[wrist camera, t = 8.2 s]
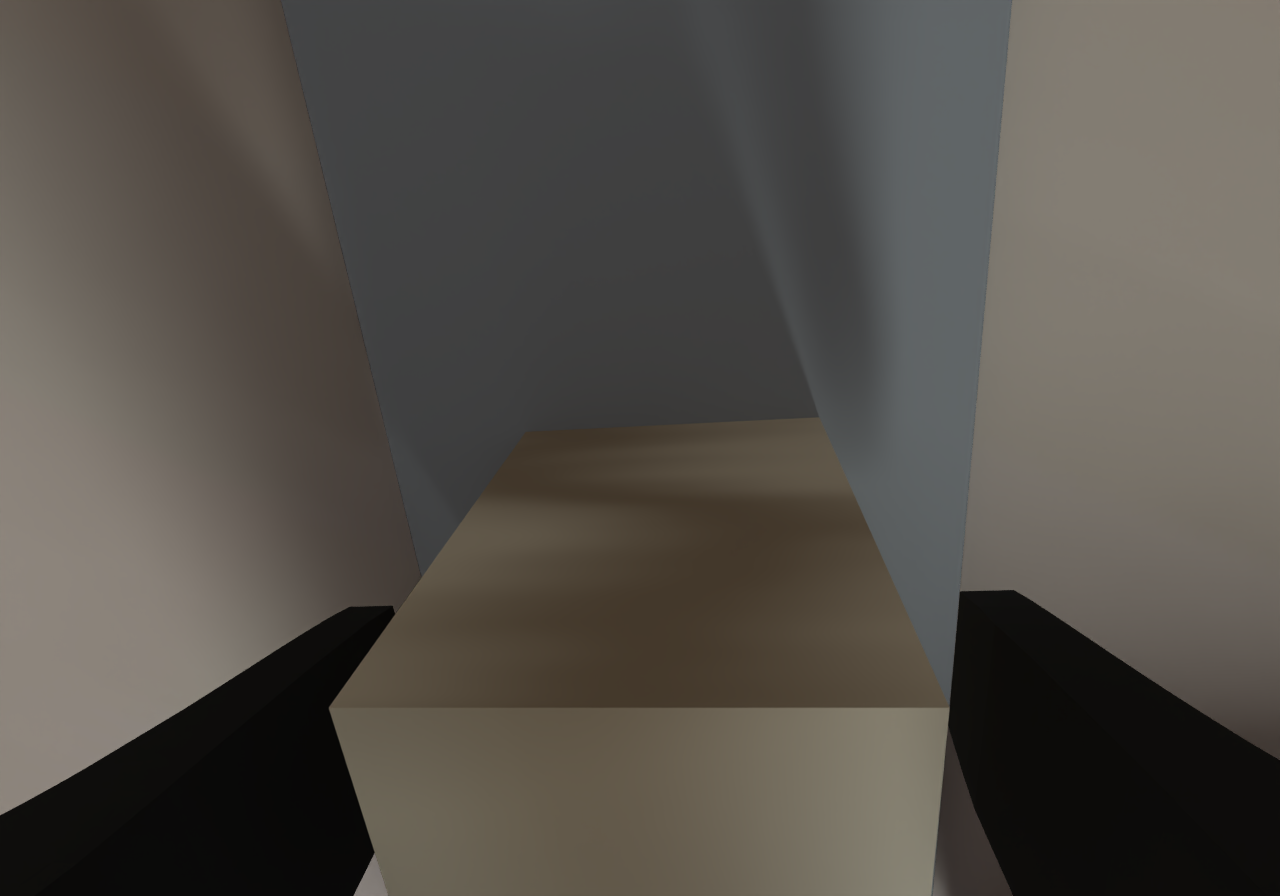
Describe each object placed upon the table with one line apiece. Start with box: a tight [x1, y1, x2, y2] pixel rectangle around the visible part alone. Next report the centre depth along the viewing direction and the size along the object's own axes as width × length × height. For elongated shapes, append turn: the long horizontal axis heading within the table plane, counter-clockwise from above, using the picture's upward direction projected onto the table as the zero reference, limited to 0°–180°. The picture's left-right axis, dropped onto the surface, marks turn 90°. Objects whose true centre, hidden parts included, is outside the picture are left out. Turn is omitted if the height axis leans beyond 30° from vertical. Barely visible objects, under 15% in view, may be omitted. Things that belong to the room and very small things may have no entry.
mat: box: [281, 0, 1012, 896], centre depth 12 cm, size 9×19×1 cm, turn 6°
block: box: [329, 417, 950, 896], centre depth 9 cm, size 4×4×6 cm
